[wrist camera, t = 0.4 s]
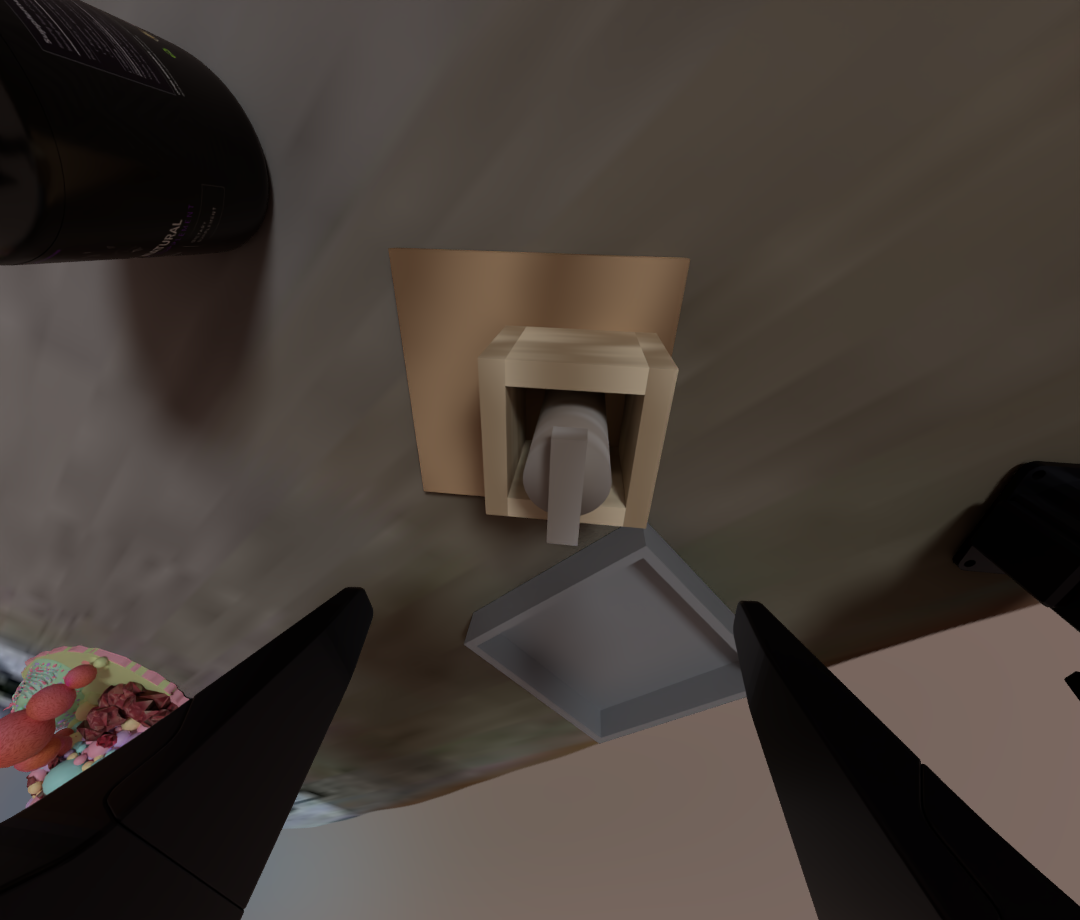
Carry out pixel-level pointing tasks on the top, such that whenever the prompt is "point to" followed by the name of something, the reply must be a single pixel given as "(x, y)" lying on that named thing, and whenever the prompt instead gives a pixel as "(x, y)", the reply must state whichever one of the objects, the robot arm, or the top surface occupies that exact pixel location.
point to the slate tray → (615, 637)
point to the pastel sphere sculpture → (78, 713)
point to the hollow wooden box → (578, 366)
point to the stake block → (551, 414)
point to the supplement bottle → (117, 143)
